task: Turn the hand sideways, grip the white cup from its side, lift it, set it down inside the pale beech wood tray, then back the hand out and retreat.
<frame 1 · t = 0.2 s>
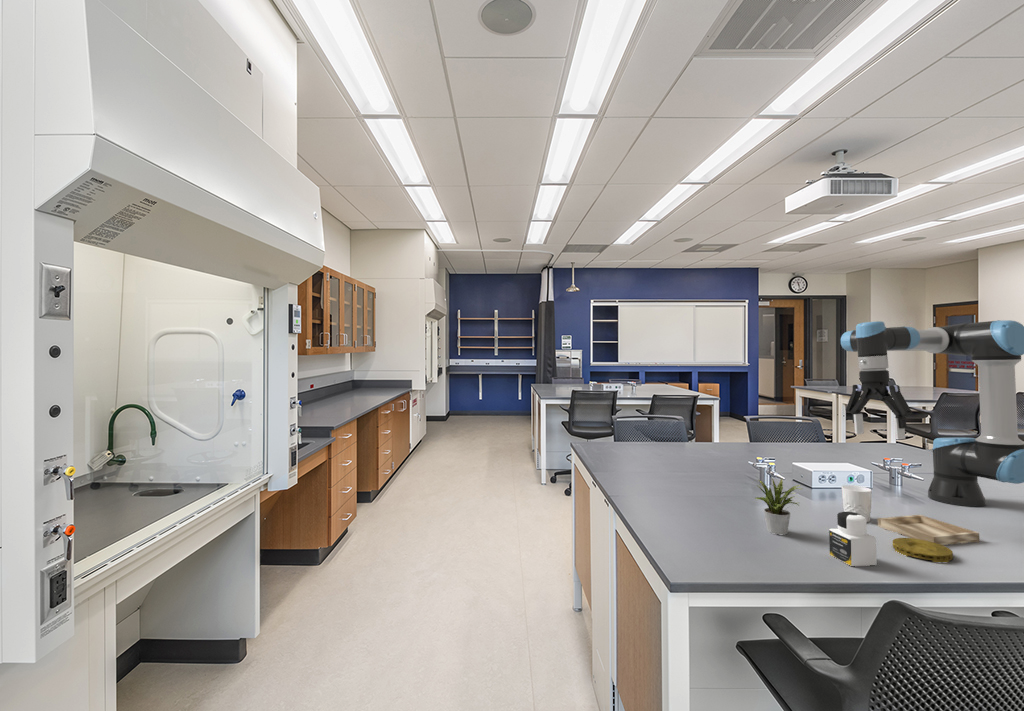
hand: (879, 436, 147), 27 cm above the table, tool pointing down, fingers open, 13 cm apart
gold notched disc: (921, 555, 123), on the table
medicine bottle: (852, 561, 119), on the table
tray: (926, 533, 137), on the table
house plant: (780, 534, 138), on the table
white cup: (857, 519, 150), on the table
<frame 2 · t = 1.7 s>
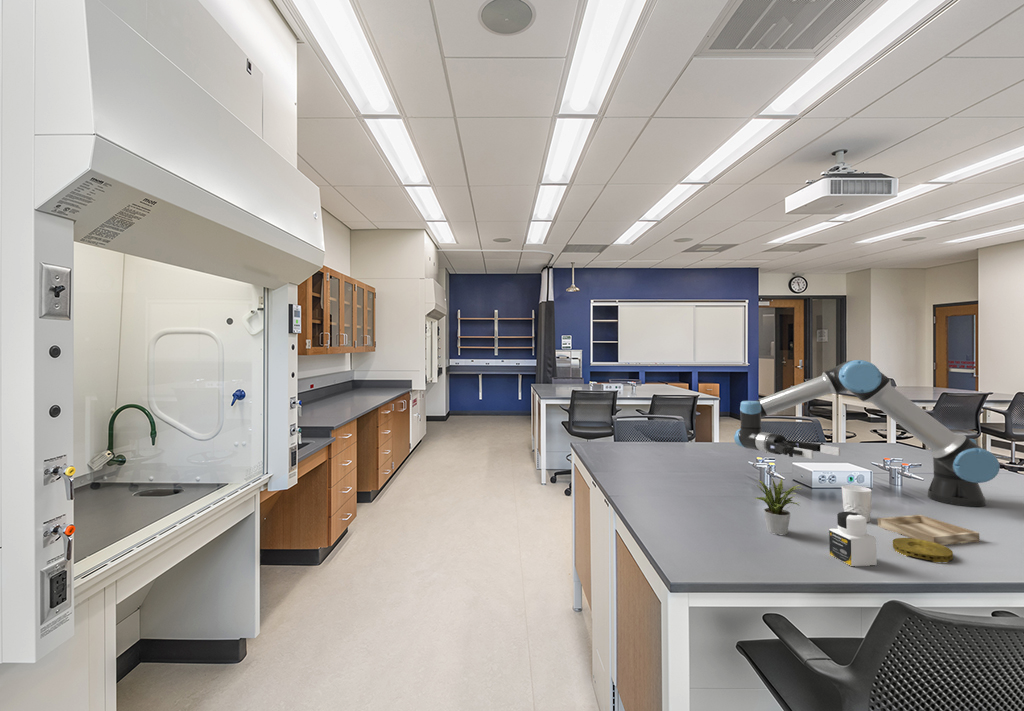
hand: (826, 453, 159), 20 cm above the table, tool horizontal, fingers open, 13 cm apart
nothing on the table moved.
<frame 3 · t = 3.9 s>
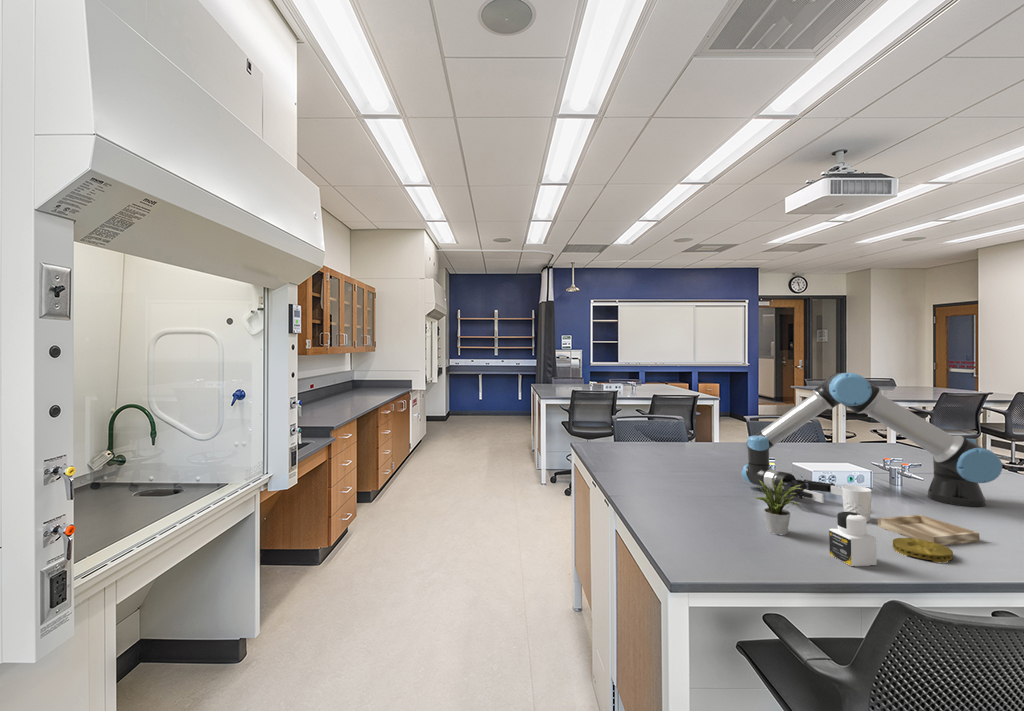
hand: (836, 496, 155), 6 cm above the table, tool horizontal, fingers open, 13 cm apart
nothing on the table moved.
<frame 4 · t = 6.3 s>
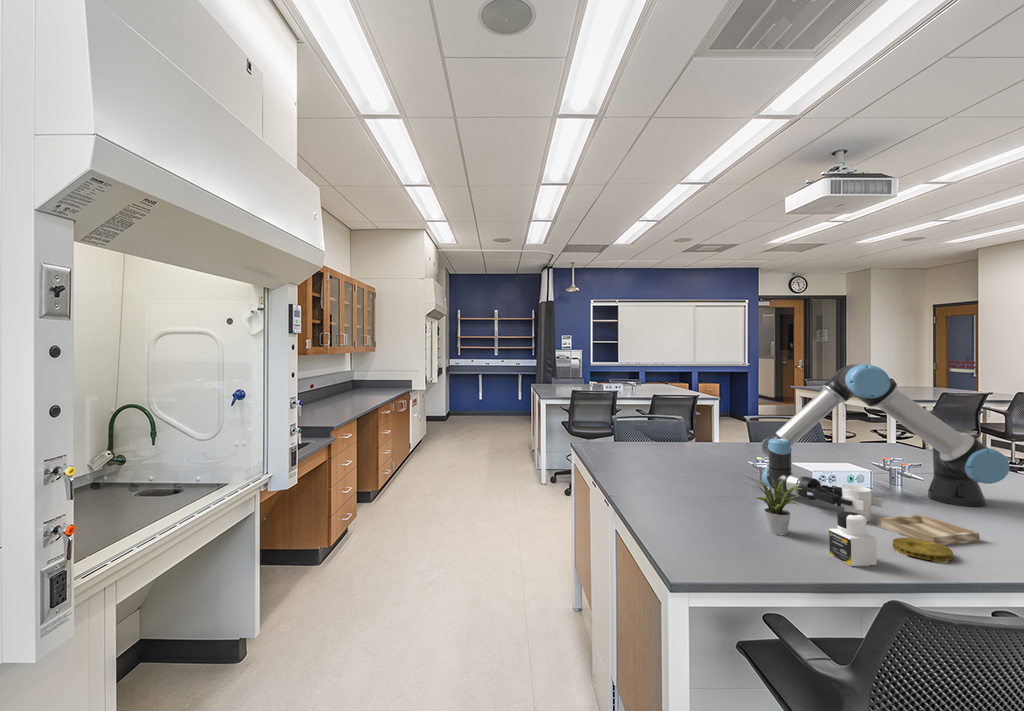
hand: (872, 504, 145), 6 cm above the table, tool horizontal, fingers closed on white cup, 8 cm apart
white cup: (857, 519, 150), on the table, touching gripper
everything else where it was.
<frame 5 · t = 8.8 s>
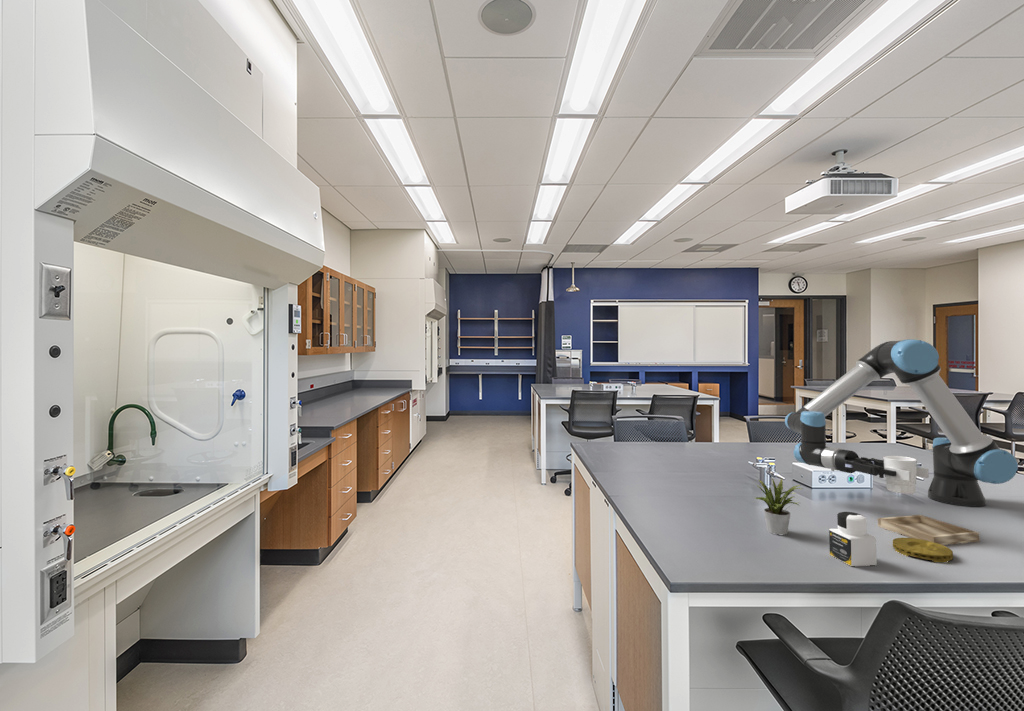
hand: (918, 474, 136), 18 cm above the table, tool horizontal, fingers closed on white cup, 8 cm apart
white cup: (900, 491, 141), point 11 cm above the table, touching gripper
everything else where it was.
when the fingers open (8 cm above the table, at t = 11.5 s): white cup drops 1 cm, resting on tray.
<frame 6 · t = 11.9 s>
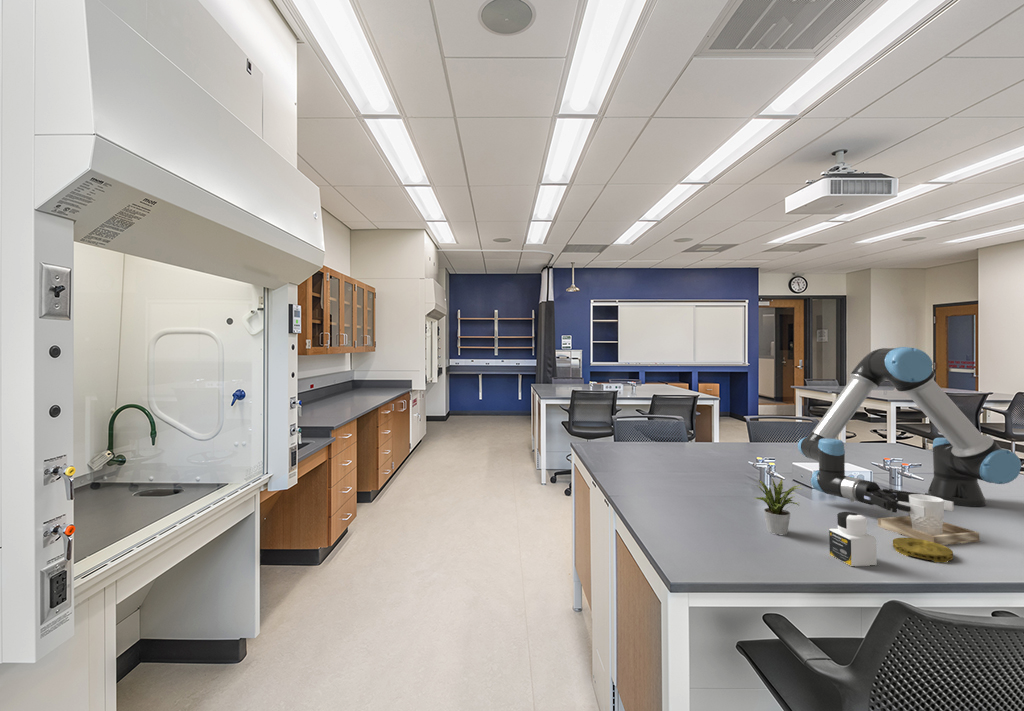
hand: (939, 509, 134), 8 cm above the table, tool horizontal, fingers open, 13 cm apart
white cup: (926, 532, 137), resting on tray
everything else where it was.
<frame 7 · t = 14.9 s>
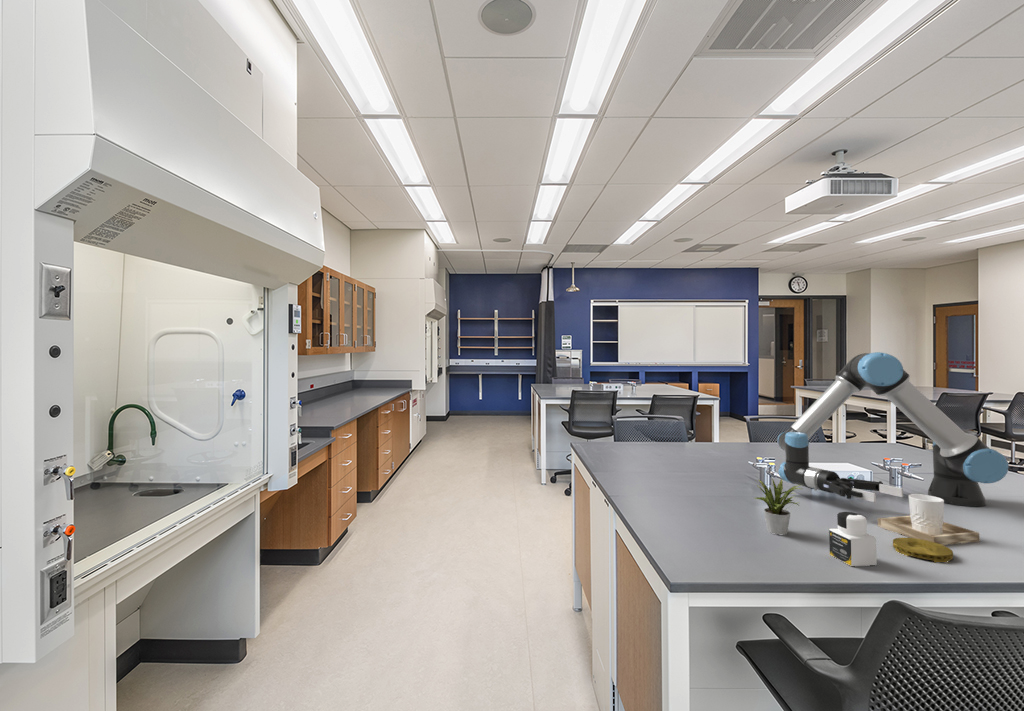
hand: (888, 495, 146), 9 cm above the table, tool horizontal, fingers open, 13 cm apart
nothing on the table moved.
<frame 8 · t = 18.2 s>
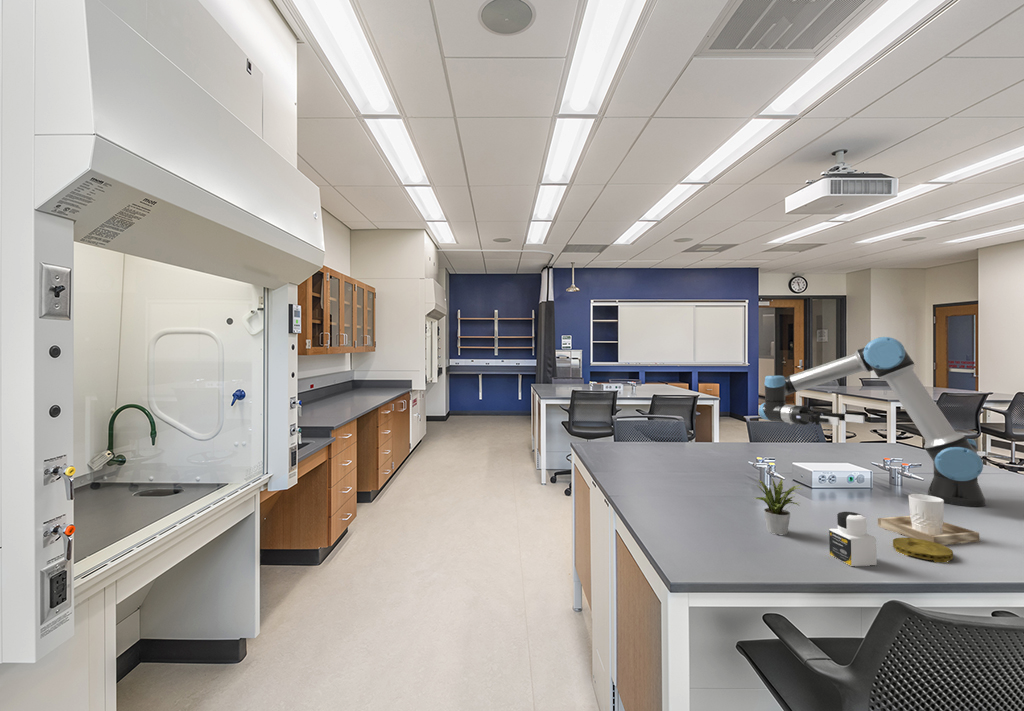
hand: (851, 420, 167), 30 cm above the table, tool horizontal, fingers open, 13 cm apart
nothing on the table moved.
at the end: white cup inside the target area on the tray (0.1 cm from its centre), point 0.4 cm above the tray's base; white cup tilted 0°; the gripper is holding nothing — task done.
